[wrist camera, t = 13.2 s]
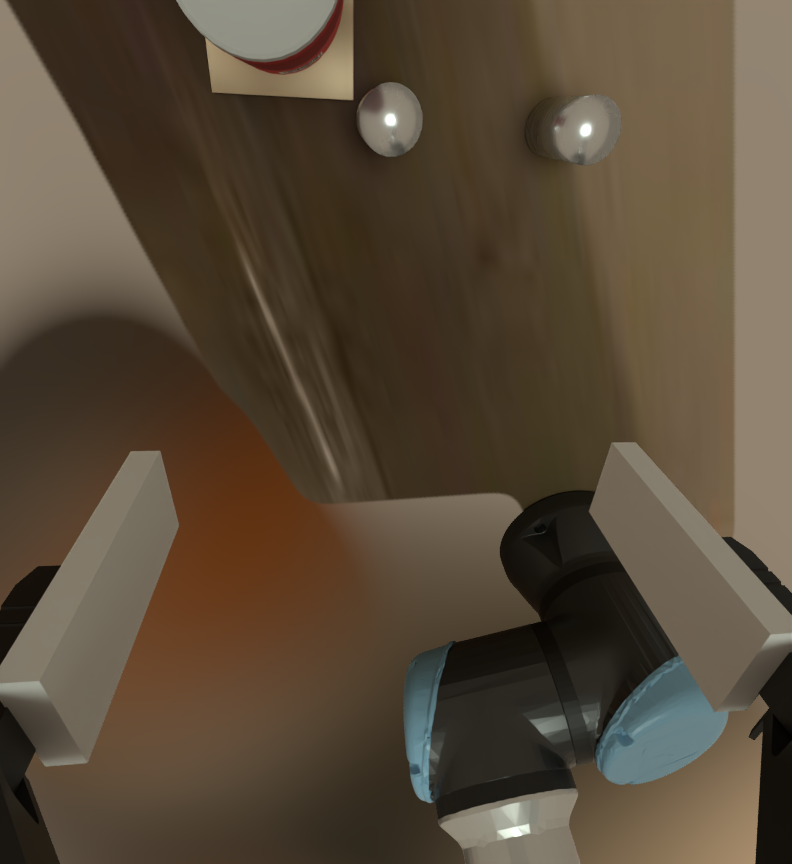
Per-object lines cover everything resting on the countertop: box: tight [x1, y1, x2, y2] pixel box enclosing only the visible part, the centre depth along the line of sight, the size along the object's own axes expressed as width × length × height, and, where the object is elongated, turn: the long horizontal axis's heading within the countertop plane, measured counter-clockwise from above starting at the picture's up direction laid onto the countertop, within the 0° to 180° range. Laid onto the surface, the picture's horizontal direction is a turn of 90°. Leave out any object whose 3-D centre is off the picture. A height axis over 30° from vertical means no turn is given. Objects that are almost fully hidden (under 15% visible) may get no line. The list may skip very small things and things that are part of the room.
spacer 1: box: [356, 82, 423, 157], centre depth 31 cm, size 4×4×7 cm
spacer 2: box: [525, 95, 622, 165], centre depth 33 cm, size 4×4×7 cm
